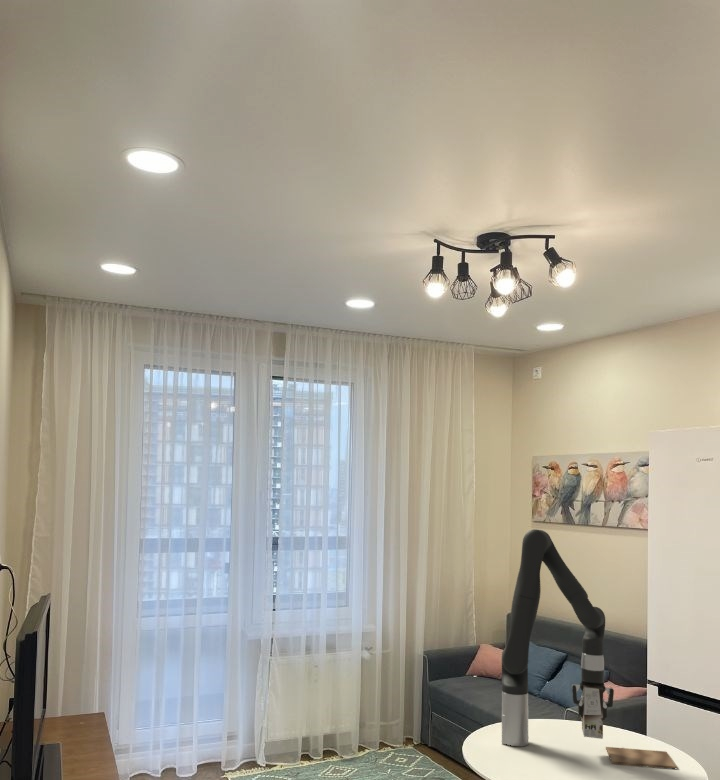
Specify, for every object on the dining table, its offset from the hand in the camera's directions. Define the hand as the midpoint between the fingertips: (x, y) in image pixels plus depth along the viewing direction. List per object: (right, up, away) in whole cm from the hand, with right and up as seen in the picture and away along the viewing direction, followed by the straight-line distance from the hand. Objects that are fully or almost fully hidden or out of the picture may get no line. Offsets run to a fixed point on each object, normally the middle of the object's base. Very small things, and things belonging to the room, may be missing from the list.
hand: (592, 717), depth 256 cm
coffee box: (0, -5, -1) cm, 5 cm away
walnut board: (+15, -12, -4) cm, 20 cm away
